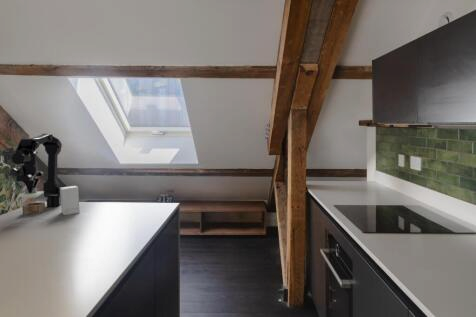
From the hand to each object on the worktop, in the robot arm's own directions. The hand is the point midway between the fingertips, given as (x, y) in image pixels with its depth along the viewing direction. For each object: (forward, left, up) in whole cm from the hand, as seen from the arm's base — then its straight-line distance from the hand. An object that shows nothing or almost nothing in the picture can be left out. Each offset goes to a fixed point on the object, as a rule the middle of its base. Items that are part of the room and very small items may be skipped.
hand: (31, 192), depth 167 cm
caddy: (+2, -8, -13) cm, 15 cm away
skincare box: (-17, -5, -14) cm, 22 cm away
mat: (-1, -2, -14) cm, 14 cm away
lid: (0, 0, -1) cm, 1 cm away
